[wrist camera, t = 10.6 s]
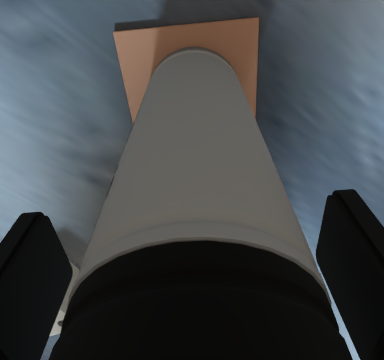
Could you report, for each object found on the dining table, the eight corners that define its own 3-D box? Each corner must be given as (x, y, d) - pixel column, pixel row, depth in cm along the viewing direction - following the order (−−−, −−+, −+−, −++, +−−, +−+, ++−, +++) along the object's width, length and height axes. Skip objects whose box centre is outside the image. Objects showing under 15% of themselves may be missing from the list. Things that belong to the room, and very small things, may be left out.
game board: (253, 276, 33) (254, 279, 33) (163, 281, 34) (163, 284, 34) (266, 16, 19) (267, 17, 18) (106, 31, 19) (105, 33, 19)
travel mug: (258, 106, 22) (471, 546, 5) (180, 148, 23) (153, 564, 7) (216, 21, 18) (418, 450, 2) (130, 78, 20) (-119, 527, 4)
